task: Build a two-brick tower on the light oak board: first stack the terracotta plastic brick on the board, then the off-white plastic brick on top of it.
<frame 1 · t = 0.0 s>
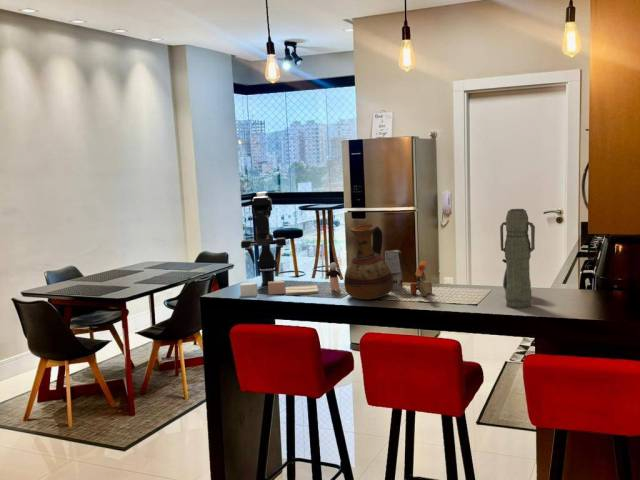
hand: (265, 263, 264), 15 cm above the counter, tool pointing down, fingers open, 9 cm apart
coffee box: (394, 288, 269), on the counter
offwhite brick: (249, 295, 273), on the counter
grandmother figurine: (334, 291, 270), on the counter
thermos: (518, 306, 226), on the counter
ceramic pitcher: (369, 297, 255), on the counter
oak board: (301, 291, 274), on the counter
pump dispenser: (516, 296, 241), on the counter
terracotta brick: (276, 293, 273), on the counter
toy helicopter: (424, 297, 249), on the counter
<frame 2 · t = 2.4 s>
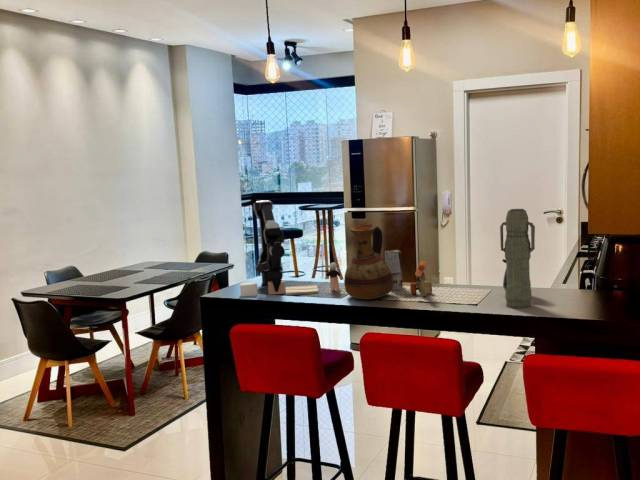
hand: (276, 290, 273), 1 cm above the counter, tool pointing down, fingers closed on terracotta brick, 4 cm apart
terracotta brick: (276, 292, 273), on the counter, touching gripper
everything else where it was.
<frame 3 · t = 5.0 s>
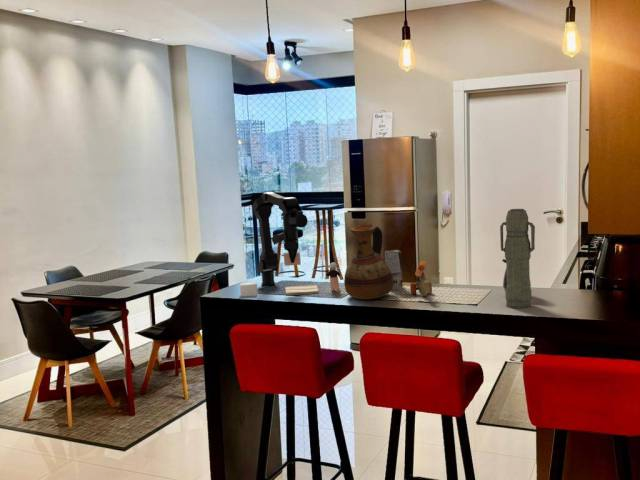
hand: (292, 262, 272), 13 cm above the counter, tool pointing down, fingers closed on terracotta brick, 4 cm apart
terracotta brick: (292, 264, 272), point 12 cm above the counter, touching gripper
everything else where it was.
when the fingers open (3 cm above the counter, at t = 8.0 s): terracotta brick stays where it is, resting on oak board.
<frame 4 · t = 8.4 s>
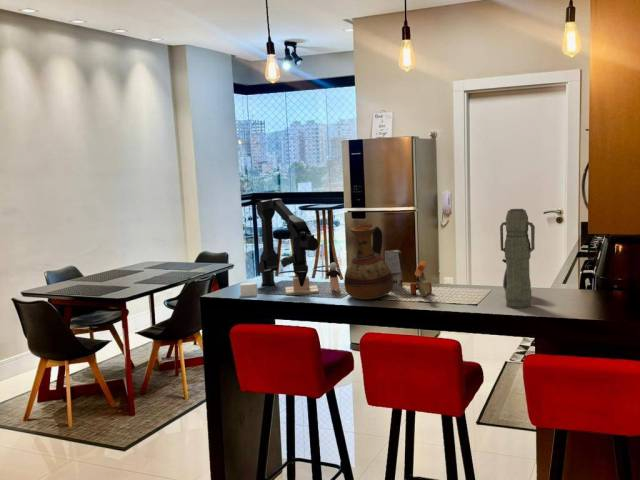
hand: (301, 284, 273), 3 cm above the counter, tool pointing down, fingers open, 8 cm apart
terracotta brick: (301, 288, 274), point 1 cm above the counter, touching oak board
everything else where it was.
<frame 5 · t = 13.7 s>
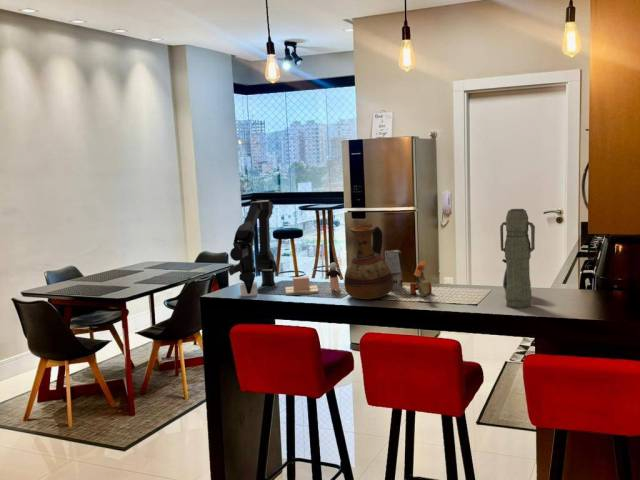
hand: (249, 292, 272), 1 cm above the counter, tool pointing down, fingers closed on offwhite brick, 4 cm apart
offwhite brick: (249, 294, 272), on the counter, touching gripper
everything else where it was.
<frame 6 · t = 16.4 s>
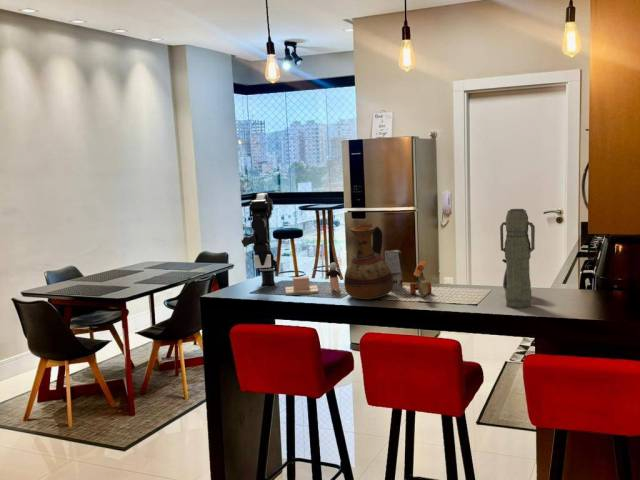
hand: (262, 264, 271), 13 cm above the counter, tool pointing down, fingers closed on offwhite brick, 4 cm apart
offwhite brick: (262, 266, 271), point 12 cm above the counter, touching gripper
everything else where it was.
when the fingers open (8 cm above the counter, at t = 19.1 s): offwhite brick stays where it is, resting on terracotta brick.
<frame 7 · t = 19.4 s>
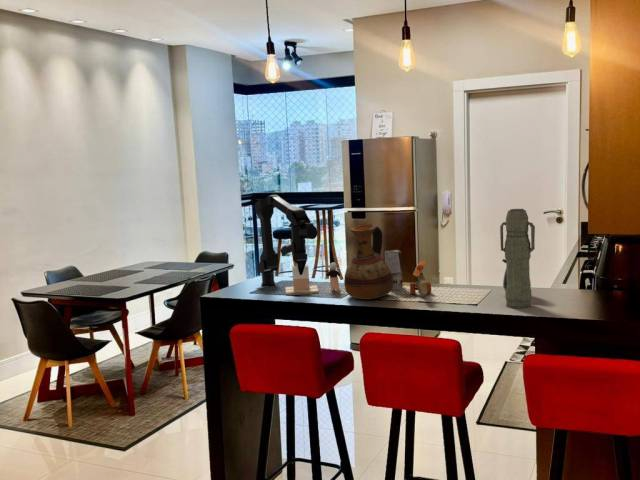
hand: (300, 273, 273), 8 cm above the counter, tool pointing down, fingers open, 8 cm apart
offwhite brick: (300, 277, 273), point 6 cm above the counter, touching terracotta brick
terracotta brick: (301, 288, 274), point 1 cm above the counter, touching oak board, offwhite brick
everything else where it was.
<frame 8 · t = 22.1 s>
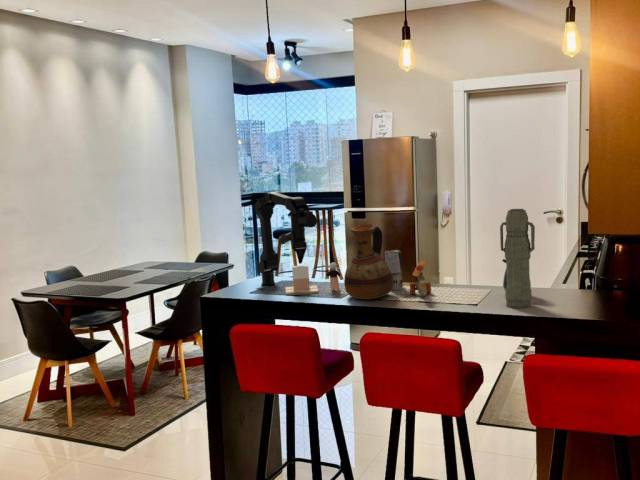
hand: (299, 261, 272), 13 cm above the counter, tool pointing down, fingers open, 9 cm apart
nothing on the counter moved.
at the end: terracotta brick inside the target area on the oak board (0.0 cm from its centre), point 1.0 cm above the oak board's base; offwhite brick 0.0 cm off-centre on the terracotta brick, point 5.0 cm above the terracotta brick's base; offwhite brick tilted 0° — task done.
